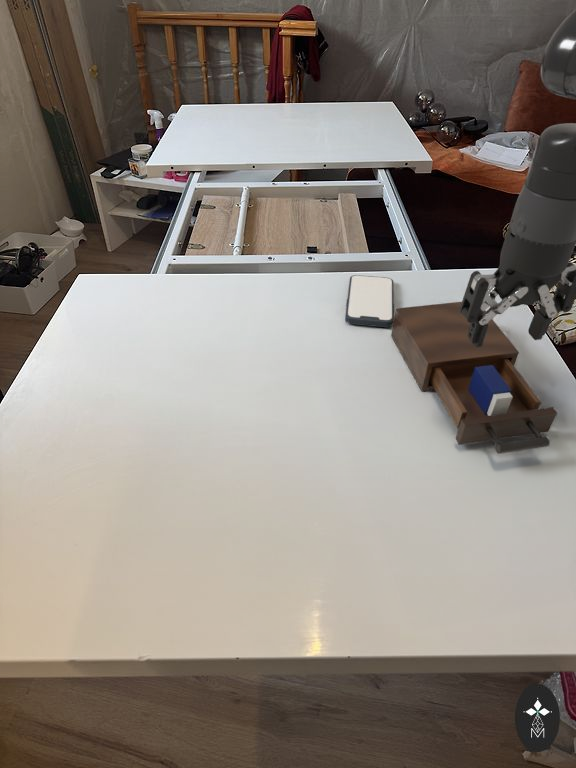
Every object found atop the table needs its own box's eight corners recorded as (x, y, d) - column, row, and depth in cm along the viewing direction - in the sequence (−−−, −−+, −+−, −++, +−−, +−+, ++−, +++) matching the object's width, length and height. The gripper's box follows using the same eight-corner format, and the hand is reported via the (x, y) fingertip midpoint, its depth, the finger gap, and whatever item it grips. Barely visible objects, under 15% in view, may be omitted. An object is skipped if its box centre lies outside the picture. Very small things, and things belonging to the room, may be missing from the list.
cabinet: (508, 380, 85) (519, 352, 81) (421, 391, 83) (428, 363, 79) (469, 327, 96) (476, 299, 92) (390, 335, 94) (395, 308, 90)
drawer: (565, 454, 73) (575, 435, 70) (472, 468, 71) (479, 449, 68) (502, 370, 86) (509, 352, 83) (422, 380, 84) (427, 361, 81)
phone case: (349, 280, 108) (343, 325, 96) (349, 273, 107) (344, 317, 95) (393, 284, 107) (393, 329, 95) (394, 277, 106) (394, 322, 94)
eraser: (485, 386, 81) (492, 364, 78) (506, 417, 76) (515, 395, 73) (468, 389, 81) (475, 367, 78) (487, 419, 76) (496, 397, 73)
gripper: (581, 208, 64) (538, 318, 75) (472, 216, 62) (443, 328, 73) (621, 236, 59) (568, 351, 70) (502, 246, 57) (466, 363, 68)
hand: (504, 339), depth 71 cm, fingers open, 8 cm apart
